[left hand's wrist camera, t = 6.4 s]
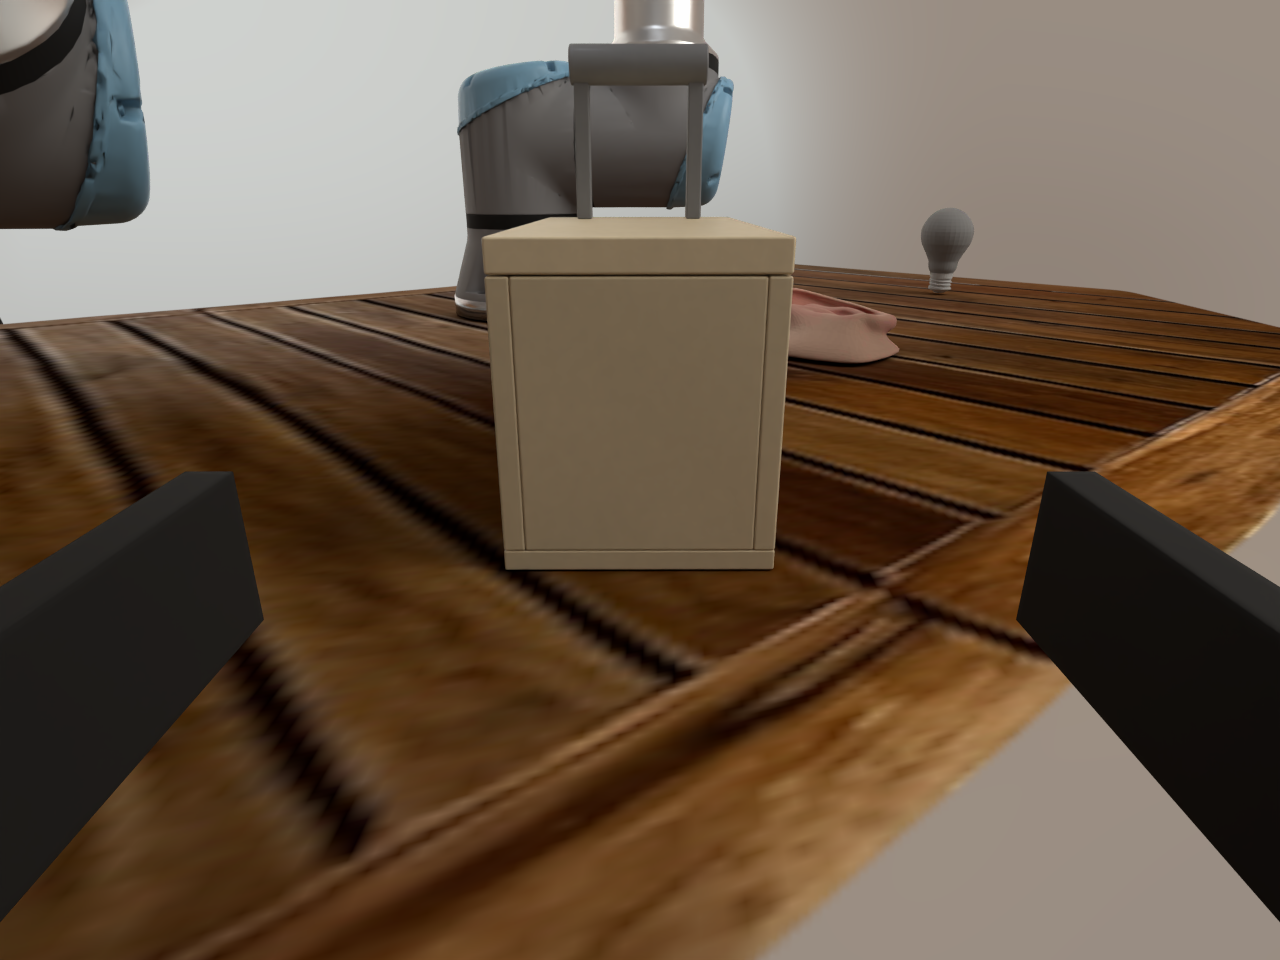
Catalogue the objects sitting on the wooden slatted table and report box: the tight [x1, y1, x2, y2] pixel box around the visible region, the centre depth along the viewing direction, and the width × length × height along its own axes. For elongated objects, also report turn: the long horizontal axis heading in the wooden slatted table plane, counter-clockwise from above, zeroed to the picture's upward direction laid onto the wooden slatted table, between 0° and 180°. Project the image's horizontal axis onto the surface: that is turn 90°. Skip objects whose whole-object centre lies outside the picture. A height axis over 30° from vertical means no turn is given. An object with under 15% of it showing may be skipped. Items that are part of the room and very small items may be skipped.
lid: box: [482, 44, 796, 275], centre depth 29 cm, size 18×9×8 cm, turn 0°
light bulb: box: [921, 208, 974, 293], centre depth 93 cm, size 6×6×10 cm
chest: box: [484, 274, 793, 570], centre depth 32 cm, size 17×9×10 cm, turn 0°
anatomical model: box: [788, 288, 899, 363], centre depth 61 cm, size 13×4×12 cm
